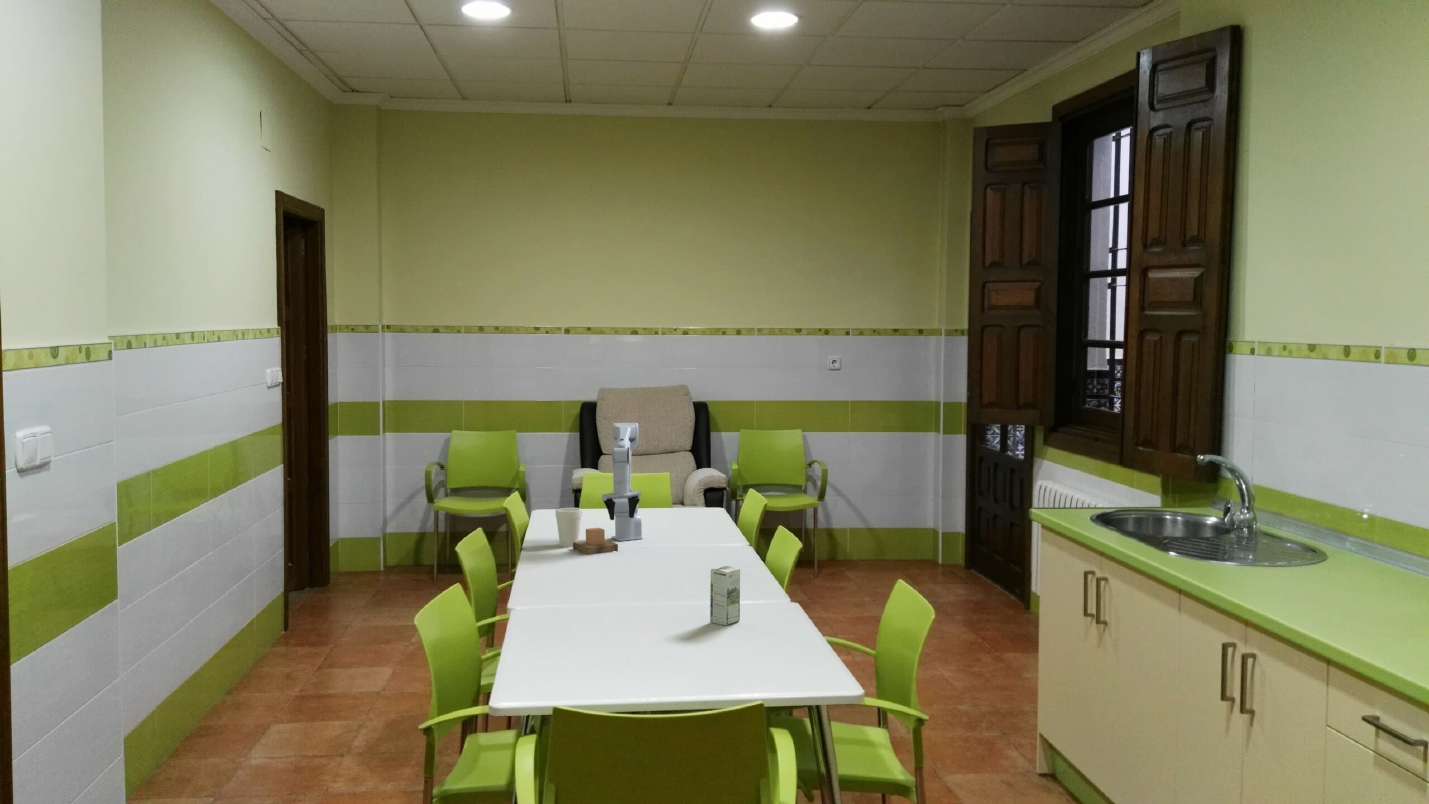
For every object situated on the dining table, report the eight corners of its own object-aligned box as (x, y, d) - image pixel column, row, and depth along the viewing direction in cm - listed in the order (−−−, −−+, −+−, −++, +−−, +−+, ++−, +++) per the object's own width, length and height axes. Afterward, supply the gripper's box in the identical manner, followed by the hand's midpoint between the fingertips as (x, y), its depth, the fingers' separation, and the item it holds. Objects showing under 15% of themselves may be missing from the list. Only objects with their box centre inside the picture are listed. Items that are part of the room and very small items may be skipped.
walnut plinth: (603, 546, 383) (603, 538, 383) (617, 552, 373) (617, 544, 373) (573, 550, 377) (572, 542, 377) (586, 556, 367) (586, 547, 367)
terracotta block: (598, 541, 378) (598, 527, 378) (604, 543, 374) (604, 529, 374) (585, 542, 376) (585, 528, 375) (591, 545, 371) (591, 530, 371)
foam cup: (579, 547, 379) (579, 511, 378) (554, 547, 379) (553, 511, 378) (583, 542, 388) (583, 507, 388) (558, 542, 389) (558, 507, 388)
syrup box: (723, 617, 284) (723, 564, 283) (740, 621, 280) (740, 567, 279) (709, 622, 280) (709, 568, 279) (727, 626, 276) (727, 571, 275)
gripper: (607, 483, 371) (608, 522, 371) (644, 480, 378) (644, 518, 379) (599, 481, 377) (599, 519, 377) (635, 478, 384) (636, 515, 385)
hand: (621, 518), depth 379 cm, fingers open, 7 cm apart
